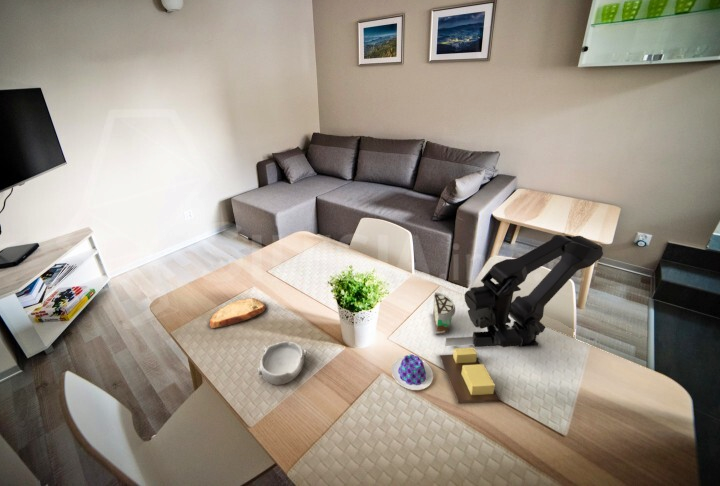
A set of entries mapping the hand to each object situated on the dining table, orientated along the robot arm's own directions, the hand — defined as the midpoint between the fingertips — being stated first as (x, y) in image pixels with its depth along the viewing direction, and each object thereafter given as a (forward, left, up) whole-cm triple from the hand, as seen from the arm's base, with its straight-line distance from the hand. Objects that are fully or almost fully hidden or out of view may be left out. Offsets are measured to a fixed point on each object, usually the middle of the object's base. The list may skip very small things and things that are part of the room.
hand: (492, 340), depth 105 cm
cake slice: (+12, -10, -2) cm, 16 cm away
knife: (+5, 0, -1) cm, 5 cm away
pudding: (+28, +9, -2) cm, 29 cm away
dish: (+68, +4, -2) cm, 68 cm away
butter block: (+11, +14, -1) cm, 18 cm away
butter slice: (+11, +6, -1) cm, 13 cm away
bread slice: (+88, -22, -2) cm, 91 cm away
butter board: (+13, +11, -2) cm, 17 cm away
